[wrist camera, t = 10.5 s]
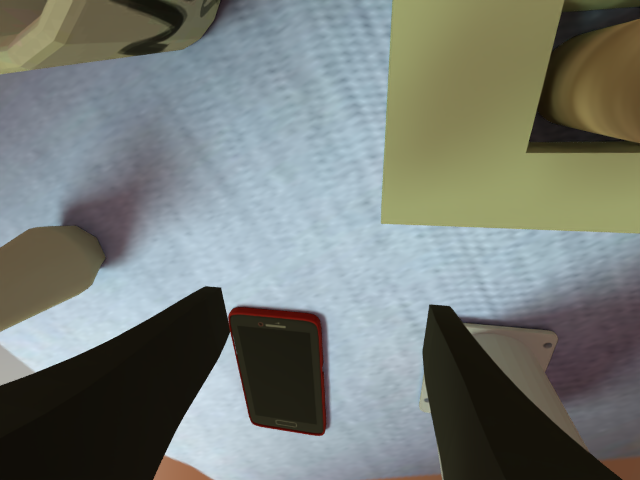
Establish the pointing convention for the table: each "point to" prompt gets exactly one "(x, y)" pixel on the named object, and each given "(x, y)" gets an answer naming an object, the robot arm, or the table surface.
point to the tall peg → (596, 82)
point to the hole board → (492, 125)
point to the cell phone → (281, 368)
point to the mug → (96, 30)
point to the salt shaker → (45, 270)
